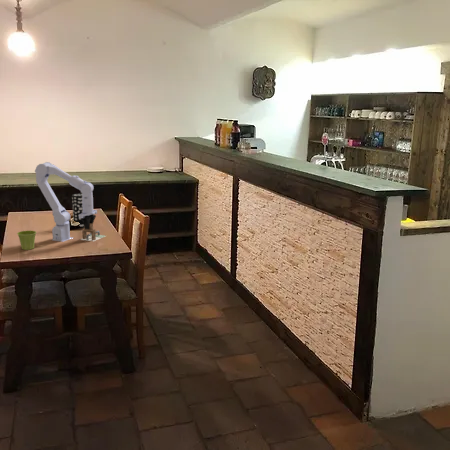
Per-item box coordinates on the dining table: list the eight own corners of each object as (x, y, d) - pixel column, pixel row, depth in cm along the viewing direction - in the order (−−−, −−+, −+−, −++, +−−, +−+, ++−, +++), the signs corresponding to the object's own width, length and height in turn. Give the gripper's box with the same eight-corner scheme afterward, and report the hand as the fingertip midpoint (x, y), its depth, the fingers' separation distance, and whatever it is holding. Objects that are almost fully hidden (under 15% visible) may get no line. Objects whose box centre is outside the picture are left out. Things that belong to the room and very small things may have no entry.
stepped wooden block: (93, 240, 288) (92, 224, 286) (82, 239, 290) (81, 223, 288) (95, 239, 290) (95, 223, 288) (85, 238, 292) (84, 222, 290)
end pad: (101, 237, 294) (101, 237, 294) (89, 236, 297) (89, 235, 297) (105, 236, 298) (105, 235, 298) (92, 234, 301) (92, 234, 300)
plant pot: (36, 250, 268) (35, 234, 266) (17, 251, 266) (16, 235, 264) (37, 245, 277) (36, 230, 275) (19, 246, 274) (18, 231, 273)
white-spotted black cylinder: (82, 228, 316) (80, 196, 312) (70, 227, 319) (69, 195, 315) (90, 225, 324) (88, 194, 319) (78, 224, 327) (77, 193, 322)
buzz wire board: (93, 242, 287) (93, 233, 285) (79, 240, 290) (79, 231, 288) (106, 236, 298) (106, 228, 297) (93, 235, 301) (92, 226, 300)
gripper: (86, 207, 278) (87, 231, 281) (101, 203, 291) (102, 226, 294) (75, 206, 280) (76, 230, 283) (90, 202, 293) (91, 225, 296)
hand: (88, 228), depth 289 cm, fingers closed on stepped wooden block, 2 cm apart
